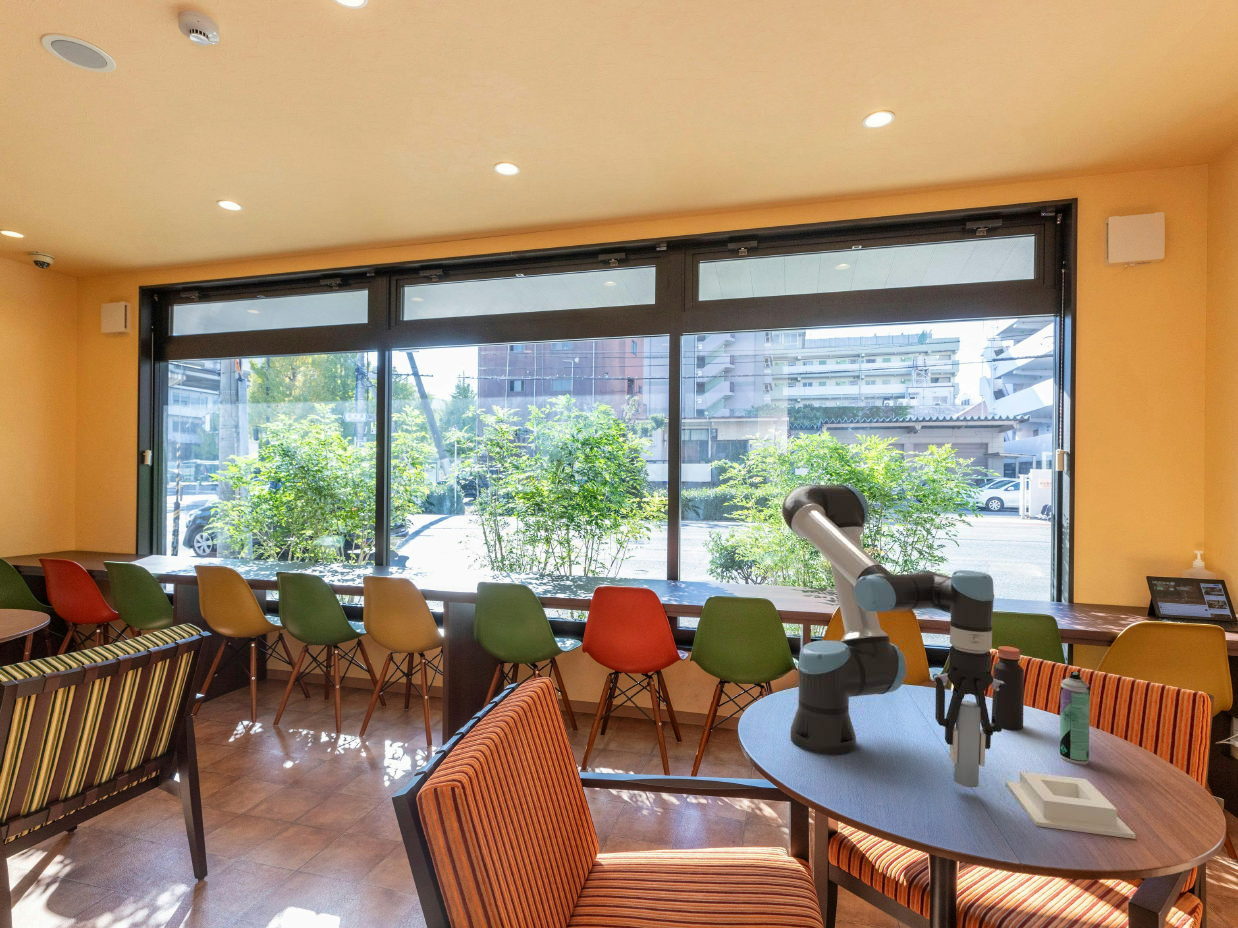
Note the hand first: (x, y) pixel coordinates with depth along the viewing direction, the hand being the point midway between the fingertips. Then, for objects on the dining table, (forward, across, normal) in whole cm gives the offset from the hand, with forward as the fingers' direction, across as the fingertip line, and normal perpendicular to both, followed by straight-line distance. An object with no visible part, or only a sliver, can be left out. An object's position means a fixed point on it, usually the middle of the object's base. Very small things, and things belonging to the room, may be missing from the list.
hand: (966, 761), depth 131 cm
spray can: (+7, +29, +24) cm, 39 cm away
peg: (+4, 0, 0) cm, 4 cm away
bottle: (+7, +21, +42) cm, 48 cm away
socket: (+6, +17, -2) cm, 19 cm away
